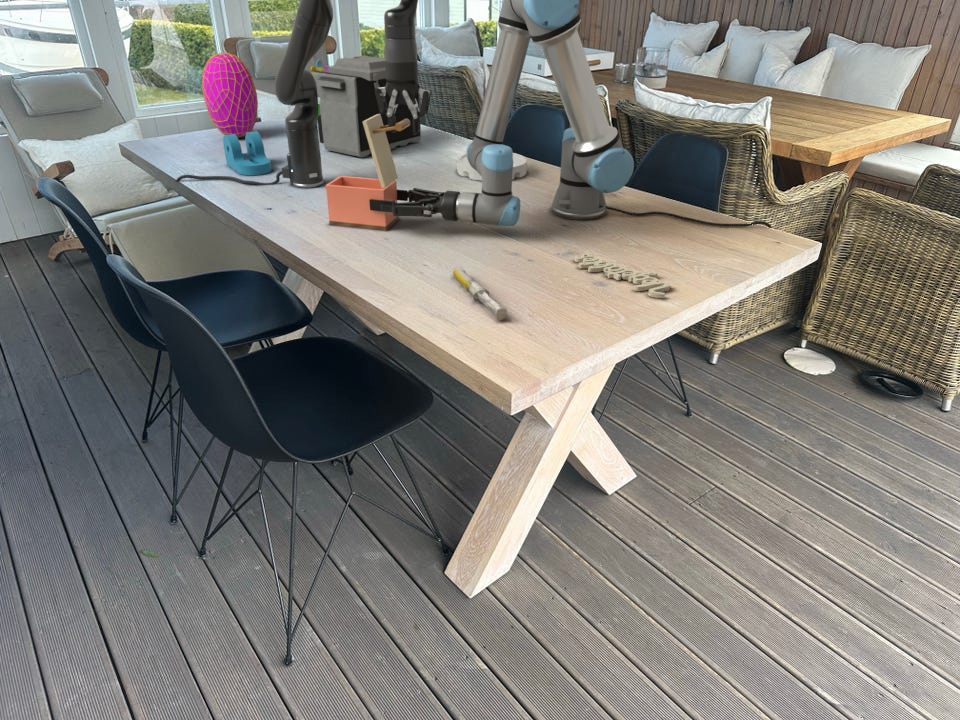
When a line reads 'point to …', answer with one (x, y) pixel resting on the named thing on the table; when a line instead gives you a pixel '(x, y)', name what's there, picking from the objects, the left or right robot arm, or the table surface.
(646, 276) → the decorative sign
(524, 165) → the ashtray
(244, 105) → the decorative egg
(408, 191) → the right robot arm
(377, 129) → the lid
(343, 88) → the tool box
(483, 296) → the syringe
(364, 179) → the chest
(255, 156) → the camera mount
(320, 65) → the potted flower
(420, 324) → the table surface
